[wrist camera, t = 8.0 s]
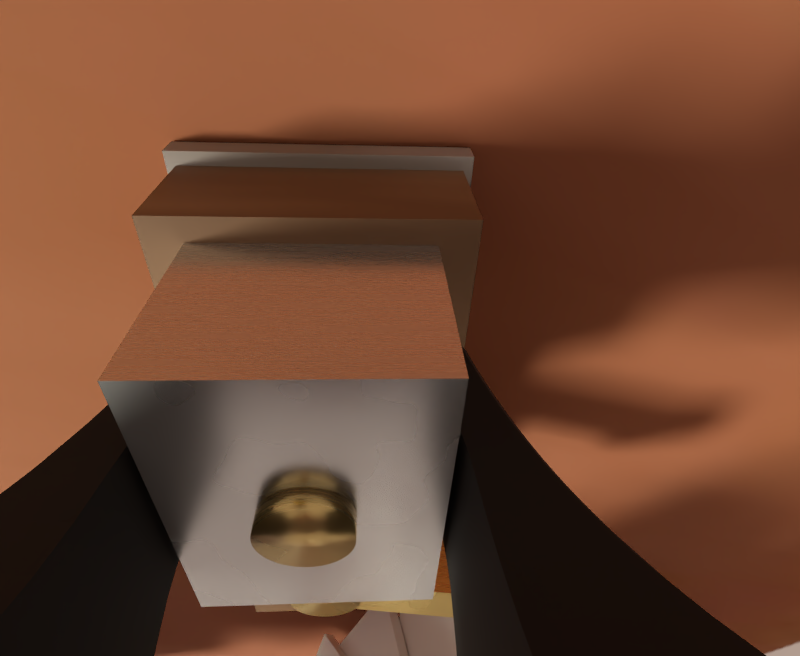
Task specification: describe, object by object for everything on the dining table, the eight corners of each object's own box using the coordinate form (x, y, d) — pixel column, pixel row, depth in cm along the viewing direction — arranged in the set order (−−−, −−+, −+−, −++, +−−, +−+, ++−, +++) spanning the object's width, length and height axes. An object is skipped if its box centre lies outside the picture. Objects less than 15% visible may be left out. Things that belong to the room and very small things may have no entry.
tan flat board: (424, 532, 20) (431, 609, 18) (265, 536, 20) (251, 615, 18) (469, 147, 11) (497, 203, 9) (171, 141, 11) (113, 198, 8)
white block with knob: (418, 456, 13) (434, 620, 10) (238, 458, 12) (195, 629, 9) (438, 245, 9) (474, 401, 6) (183, 242, 9) (82, 405, 6)
